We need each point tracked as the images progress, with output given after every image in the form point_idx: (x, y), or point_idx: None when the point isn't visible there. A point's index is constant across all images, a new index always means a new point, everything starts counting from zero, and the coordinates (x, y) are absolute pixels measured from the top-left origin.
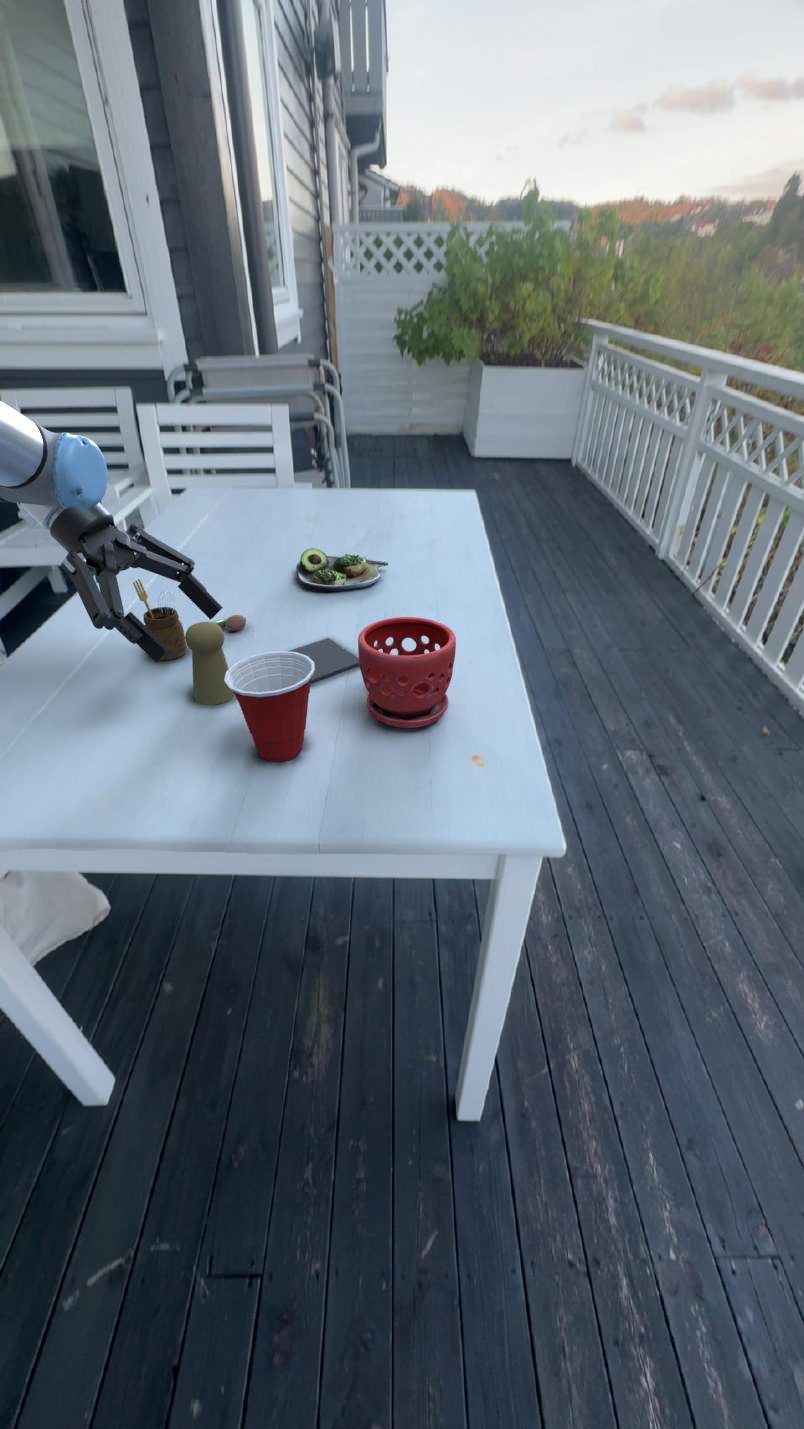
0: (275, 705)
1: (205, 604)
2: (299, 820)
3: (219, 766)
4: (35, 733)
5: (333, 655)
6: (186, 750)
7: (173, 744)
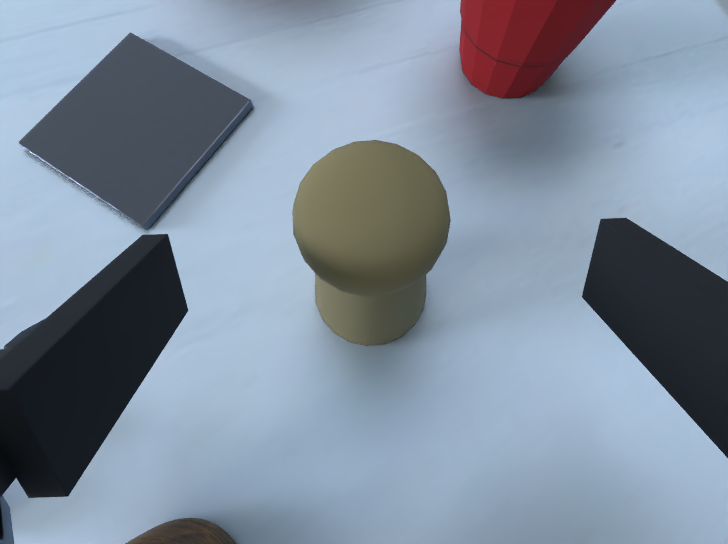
0: None
1: (150, 306)
2: None
3: (608, 135)
4: None
5: (115, 97)
6: None
7: None
